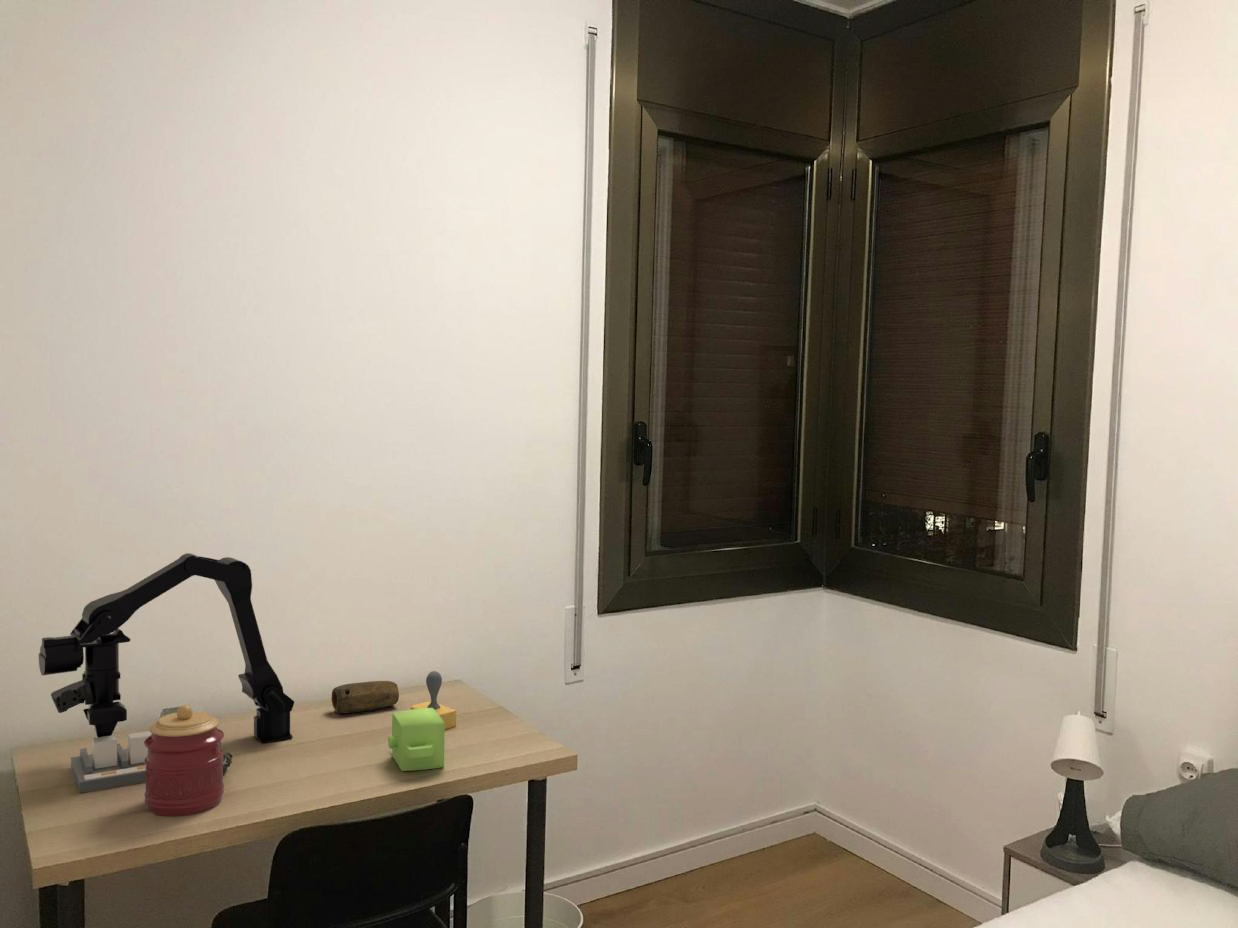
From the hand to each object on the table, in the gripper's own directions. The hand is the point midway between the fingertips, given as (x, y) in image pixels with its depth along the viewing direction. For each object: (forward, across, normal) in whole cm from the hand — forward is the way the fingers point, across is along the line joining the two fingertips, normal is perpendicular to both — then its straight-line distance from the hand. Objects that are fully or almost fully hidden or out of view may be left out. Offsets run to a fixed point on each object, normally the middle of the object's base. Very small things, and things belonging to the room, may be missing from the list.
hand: (102, 747), depth 195 cm
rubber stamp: (+5, +4, +66) cm, 66 cm away
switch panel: (+5, +3, +3) cm, 6 cm away
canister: (+5, +24, +10) cm, 27 cm away
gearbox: (+5, +24, +53) cm, 59 cm away
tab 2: (+2, +4, +6) cm, 8 cm away
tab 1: (+2, +3, 0) cm, 4 cm away
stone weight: (+5, -13, +56) cm, 58 cm away
